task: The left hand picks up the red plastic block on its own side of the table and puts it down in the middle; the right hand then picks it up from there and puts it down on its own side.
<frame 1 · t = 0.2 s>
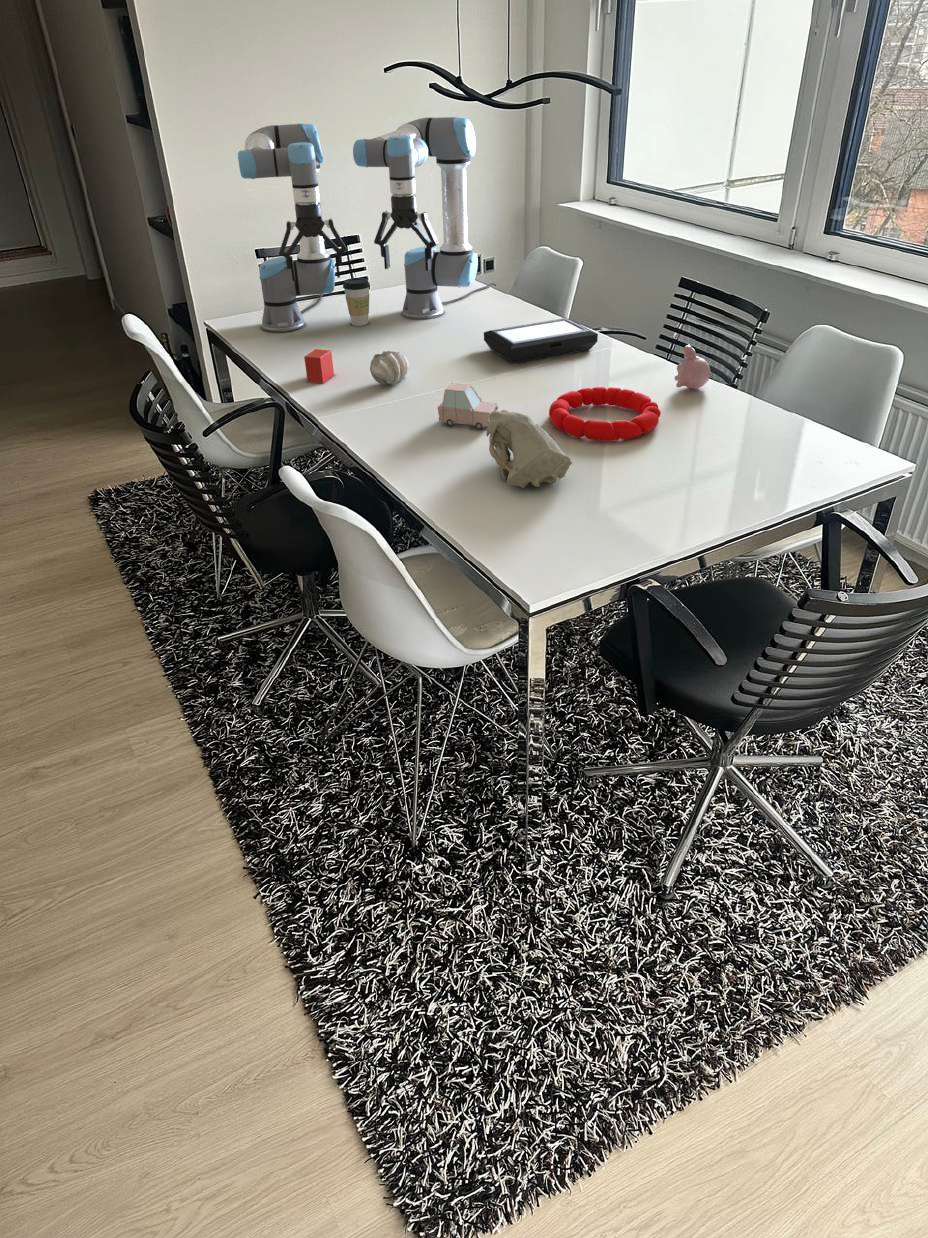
left hand: (316, 278, 273), 28 cm above the table, tool pointing down, fingers open, 13 cm apart
right hand: (407, 268, 278), 28 cm above the table, tool pointing down, fingers open, 13 cm apart
figurine: (690, 388, 263), on the table
electronic device: (540, 349, 296), on the table
block: (320, 378, 279), on the table
seashell: (391, 384, 273), on the table
toy car: (468, 423, 246), on the table
decorative ring: (603, 422, 244), on the table
animal skull: (520, 470, 220), on the table
coffee cup: (360, 323, 327), on the table
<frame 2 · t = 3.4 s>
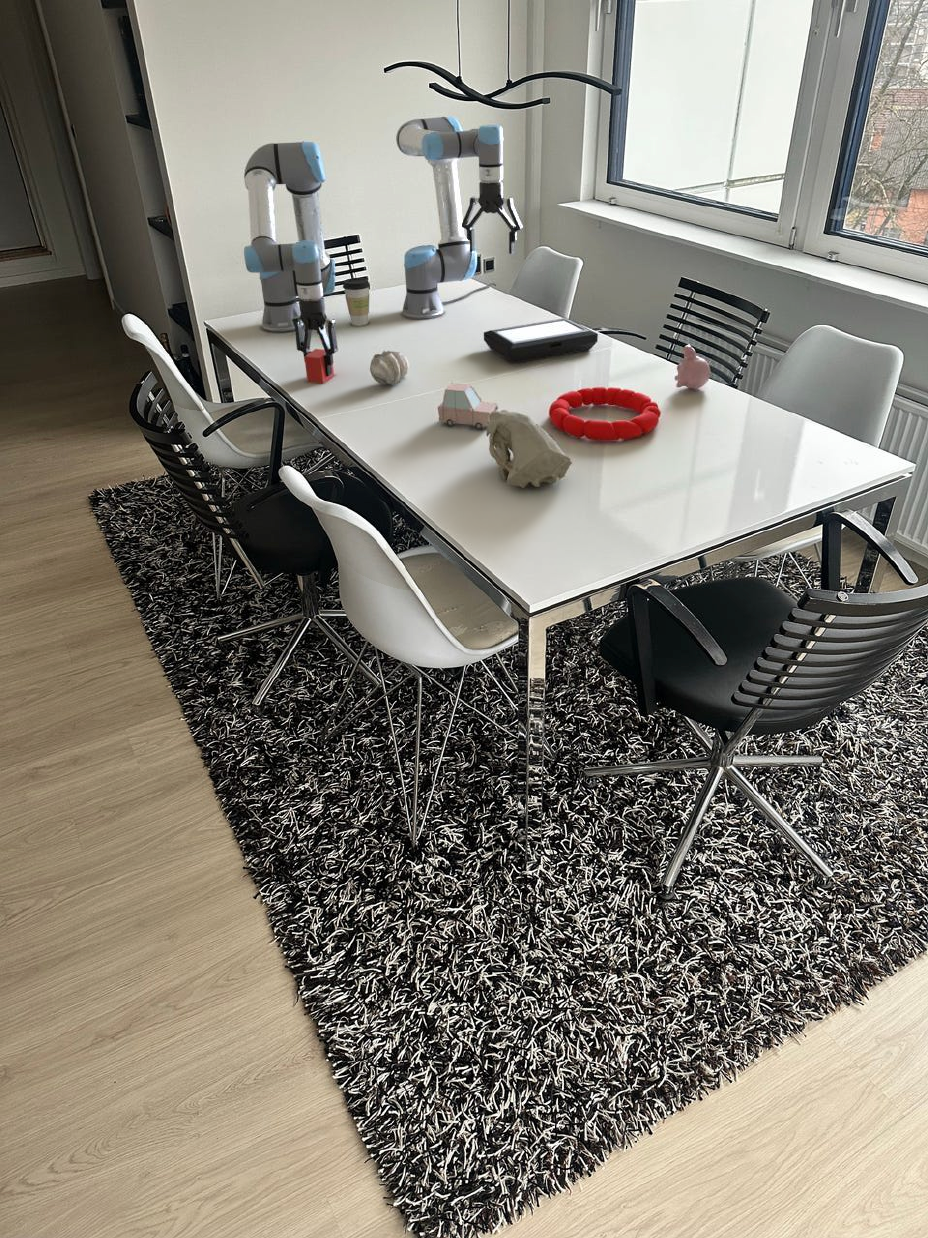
left hand: (320, 373, 278), 2 cm above the table, tool pointing down, fingers closed on block, 5 cm apart
right hand: (491, 251, 294), 28 cm above the table, tool pointing down, fingers open, 13 cm apart
block: (320, 378, 279), on the table, touching left hand
everything else where it was.
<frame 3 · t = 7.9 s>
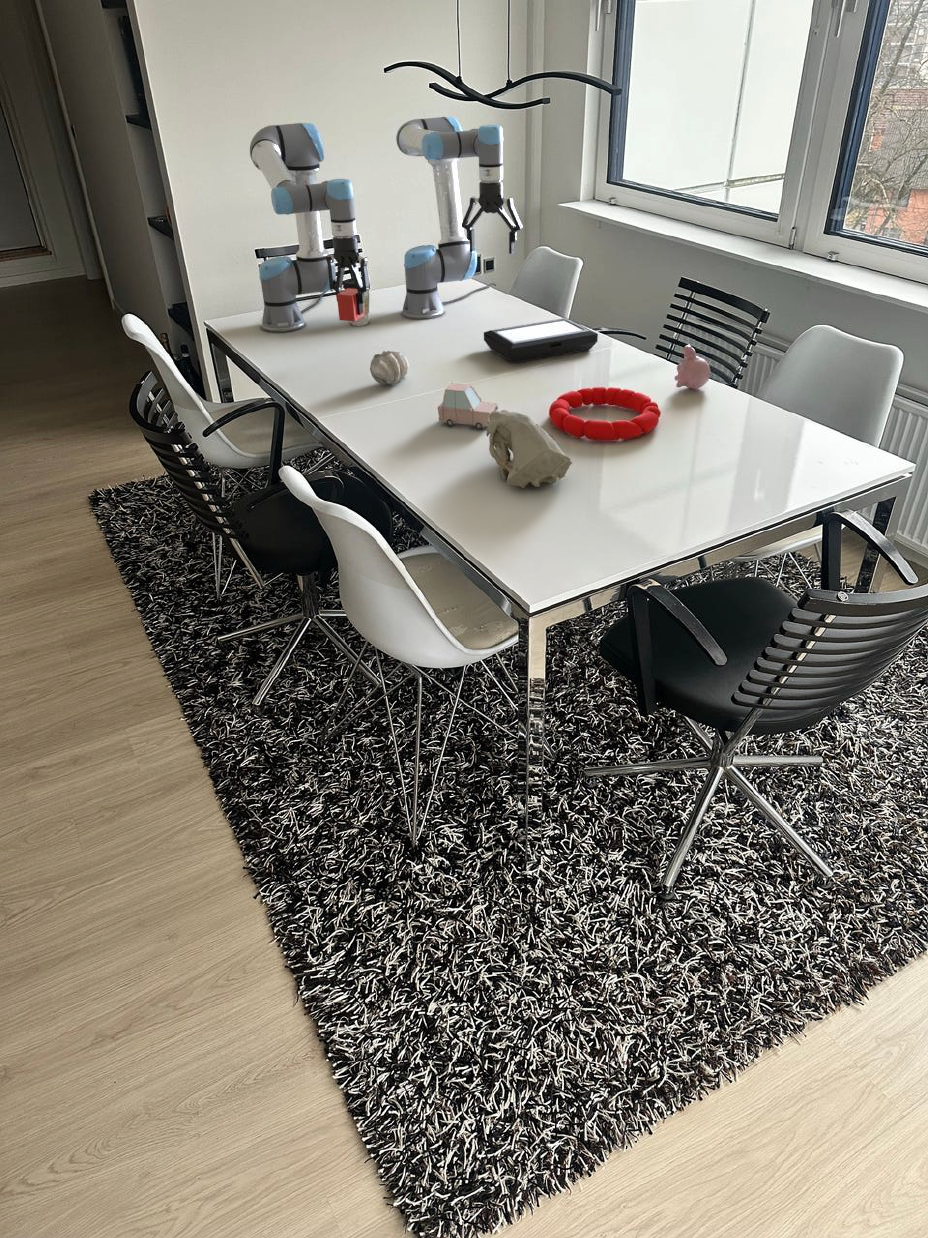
left hand: (351, 312, 285), 15 cm above the table, tool pointing down, fingers closed on block, 5 cm apart
right hand: (491, 251, 294), 28 cm above the table, tool pointing down, fingers open, 13 cm apart
block: (352, 317, 286), point 14 cm above the table, touching left hand
everything else where it was.
when the left hand's fingers open (3 cm above the table, at t = 12.4 s): block drops 1 cm, on the table.
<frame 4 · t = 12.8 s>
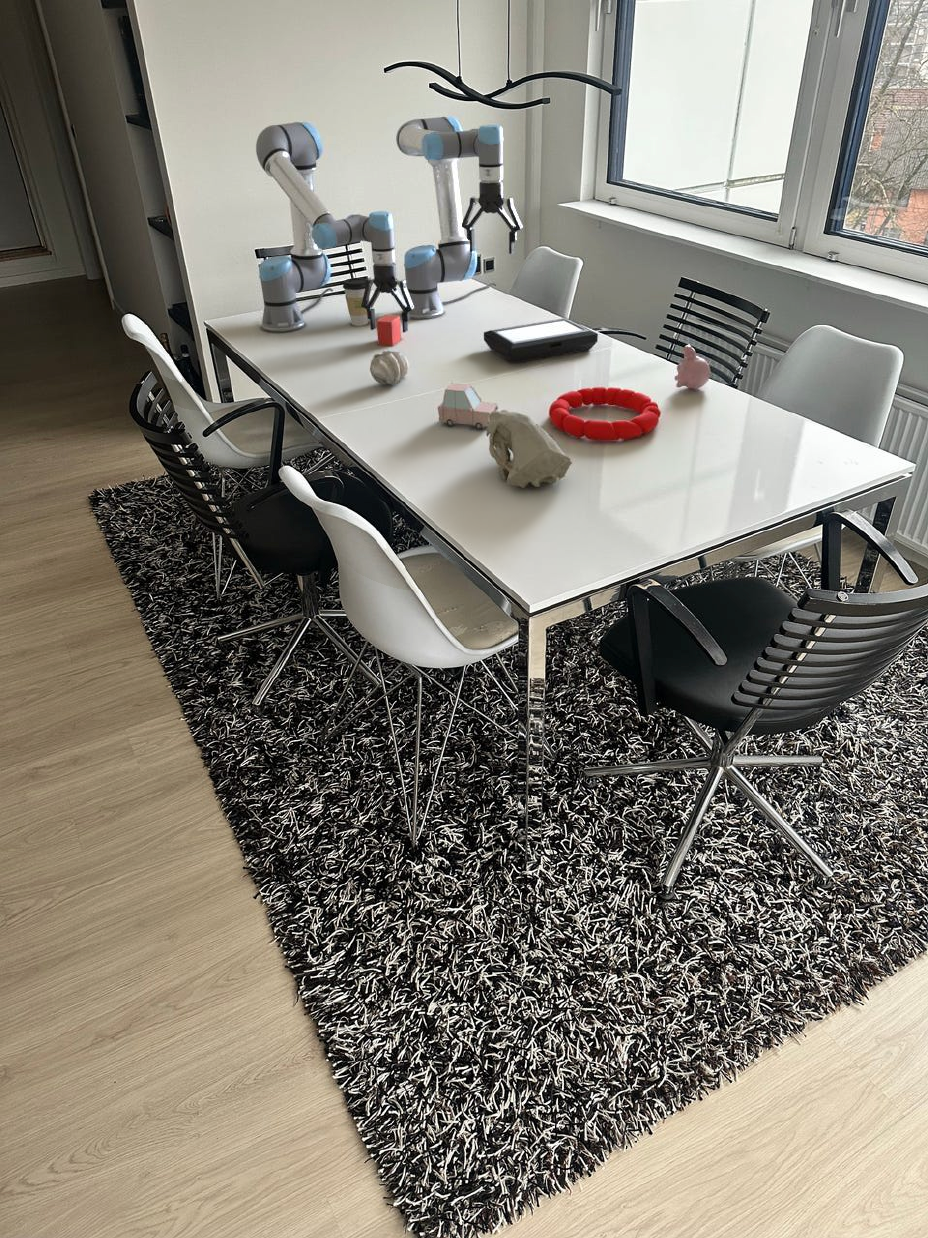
left hand: (389, 330, 306), 4 cm above the table, tool pointing down, fingers open, 11 cm apart
right hand: (491, 251, 294), 28 cm above the table, tool pointing down, fingers open, 13 cm apart
block: (389, 341, 308), on the table
everything else where it was.
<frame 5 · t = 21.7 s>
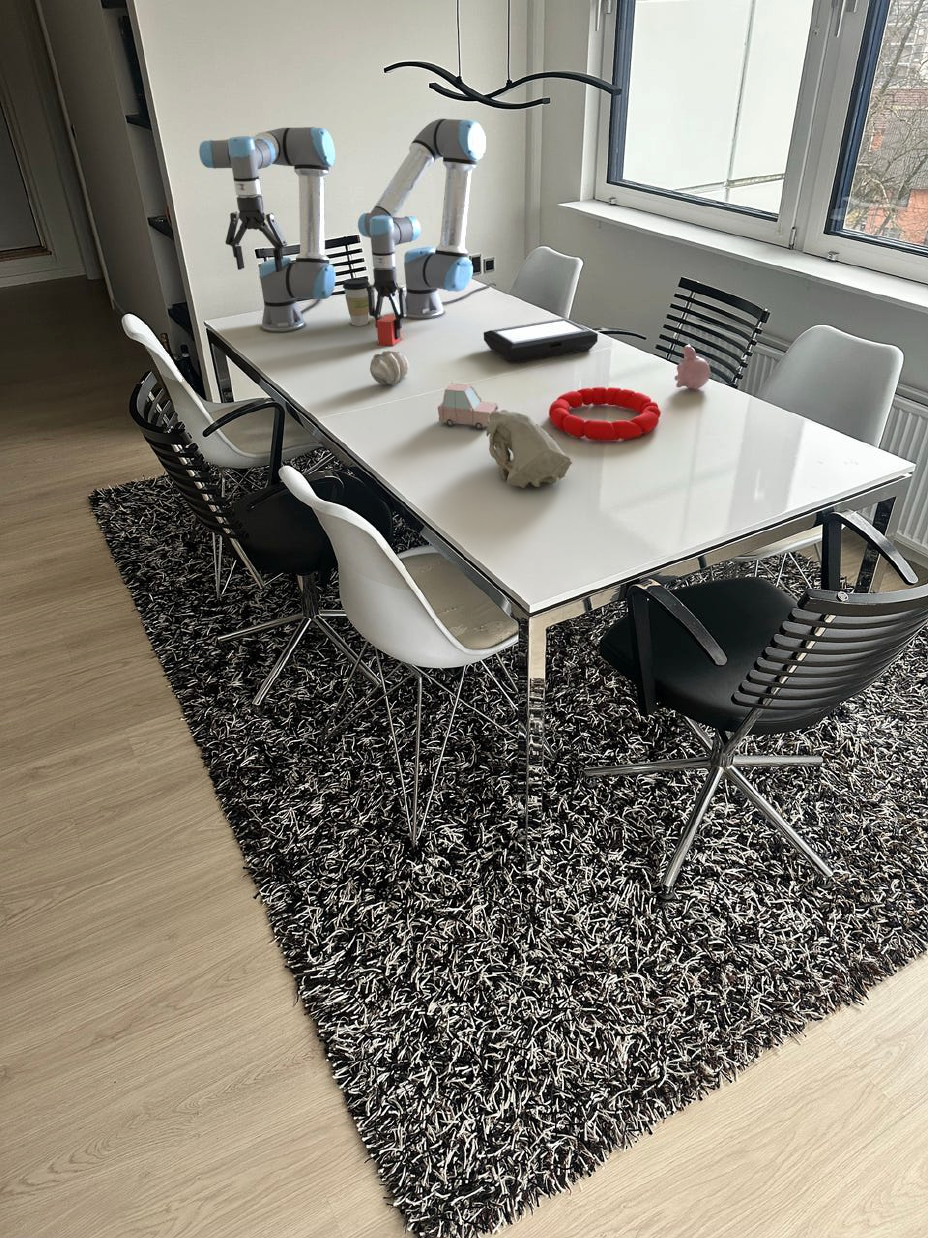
left hand: (260, 269, 278), 29 cm above the table, tool pointing down, fingers open, 13 cm apart
right hand: (389, 337, 307), 2 cm above the table, tool pointing down, fingers closed on block, 5 cm apart
block: (389, 341, 308), on the table, touching right hand
everything else where it was.
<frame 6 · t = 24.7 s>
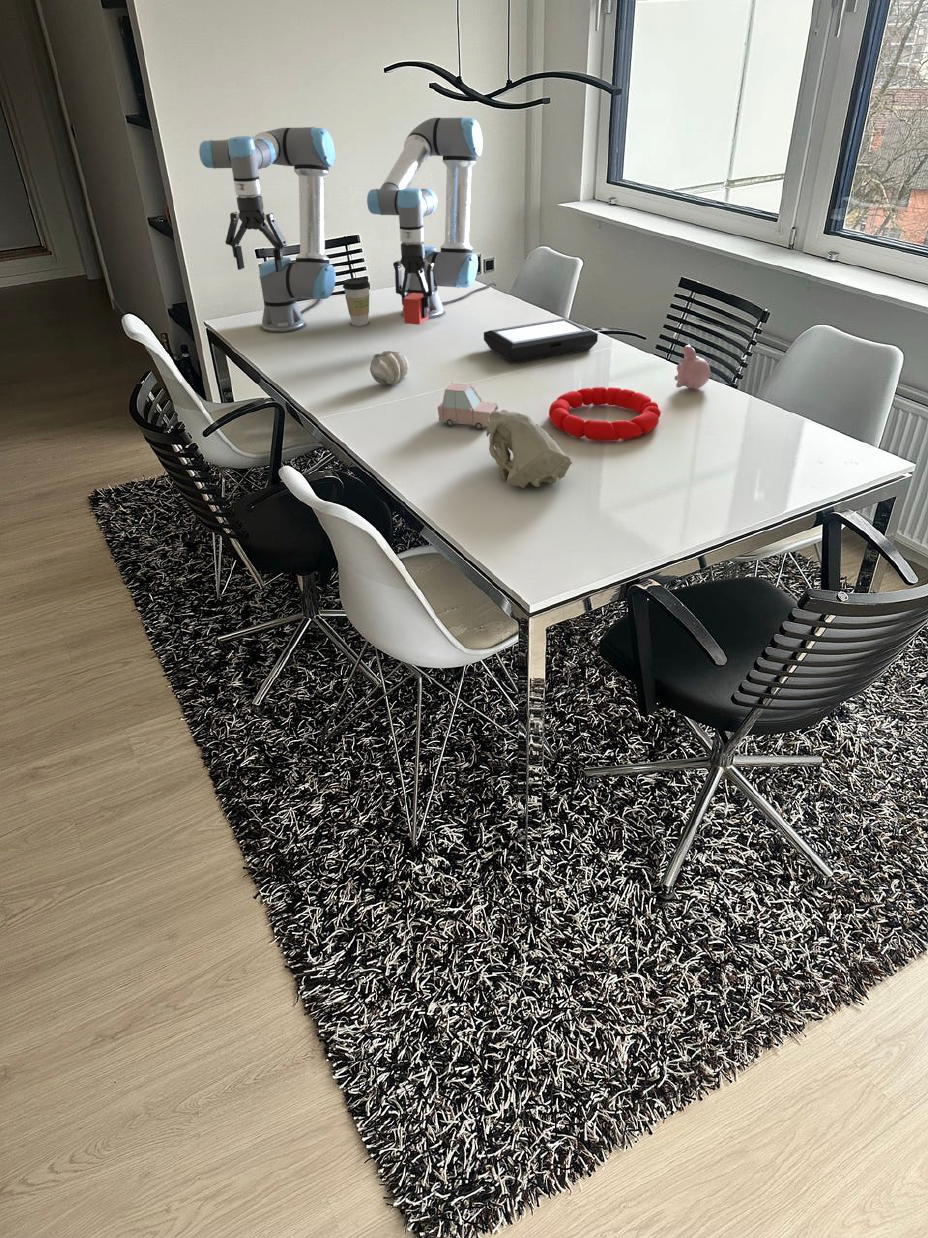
left hand: (260, 269, 278), 29 cm above the table, tool pointing down, fingers open, 13 cm apart
right hand: (416, 316, 296), 10 cm above the table, tool pointing down, fingers closed on block, 5 cm apart
block: (416, 320, 297), point 9 cm above the table, touching right hand
everything else where it was.
when the right hand's fingers open (3 cm above the table, at t = 27.8 s): block drops 1 cm, on the table.
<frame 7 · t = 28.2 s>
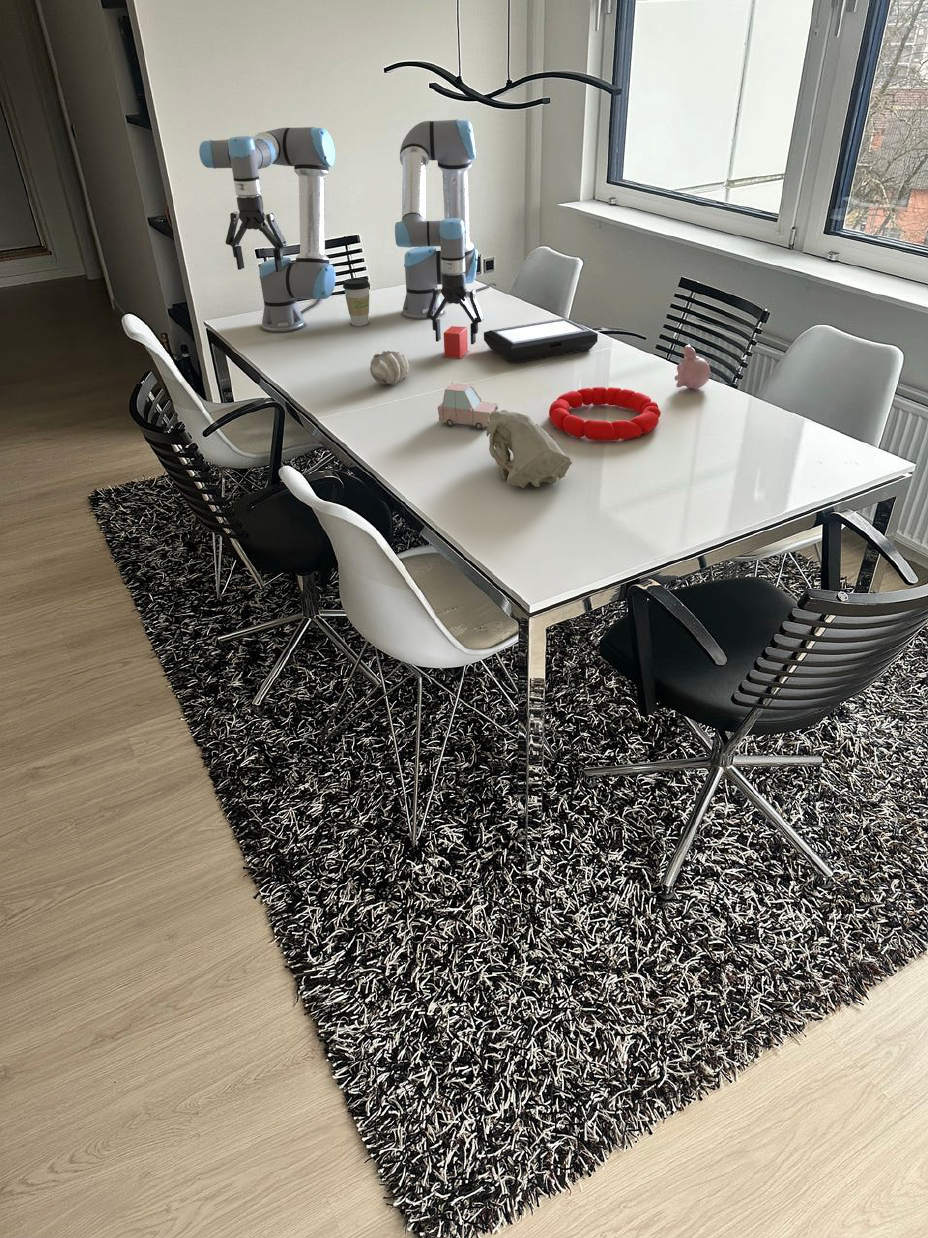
left hand: (260, 269, 278), 29 cm above the table, tool pointing down, fingers open, 13 cm apart
right hand: (455, 341, 293), 4 cm above the table, tool pointing down, fingers open, 11 cm apart
block: (456, 354, 295), on the table
everything else where it was.
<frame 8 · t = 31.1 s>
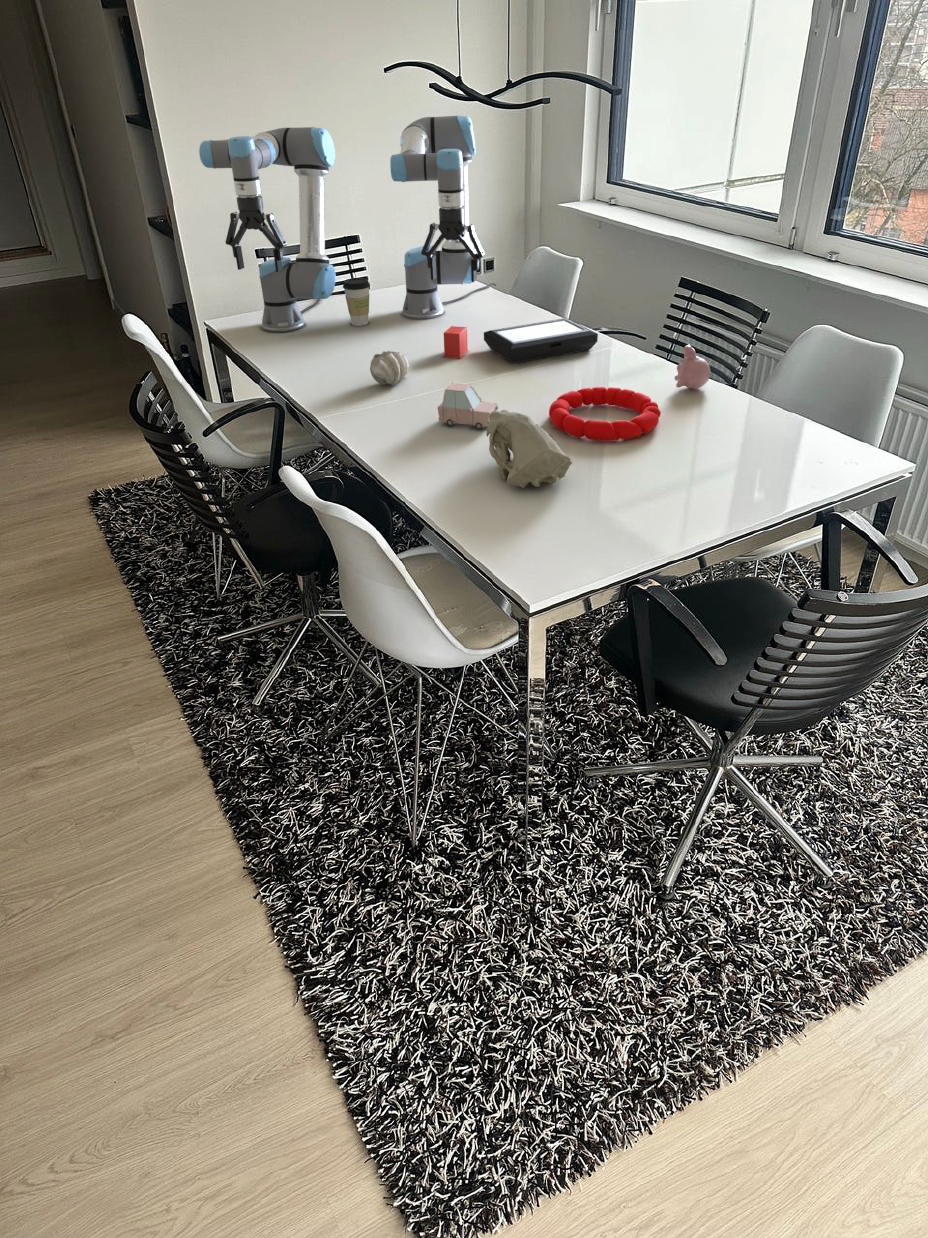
left hand: (260, 269, 278), 29 cm above the table, tool pointing down, fingers open, 13 cm apart
right hand: (453, 279, 281), 24 cm above the table, tool pointing down, fingers open, 13 cm apart
nothing on the table moved.
at the end: block inside the target area (0.1 cm from its centre), on the table; block tilted 0°; the two hands never held the block at the same time; the left hand is holding nothing; the right hand is holding nothing; block at rest at the end (0.0 cm/s) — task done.
